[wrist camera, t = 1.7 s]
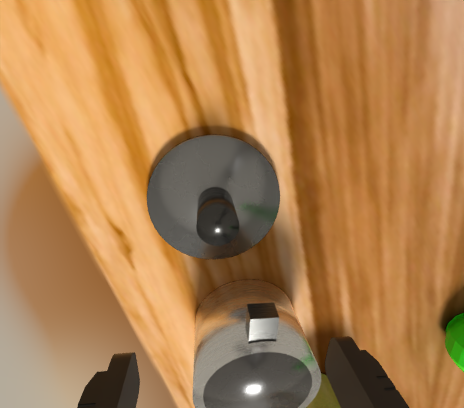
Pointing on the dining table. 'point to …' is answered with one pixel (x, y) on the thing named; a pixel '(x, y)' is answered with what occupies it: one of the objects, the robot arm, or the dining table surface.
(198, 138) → the lid
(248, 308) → the cooker pot
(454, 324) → the plastic bottle
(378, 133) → the dining table surface
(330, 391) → the plant pot
